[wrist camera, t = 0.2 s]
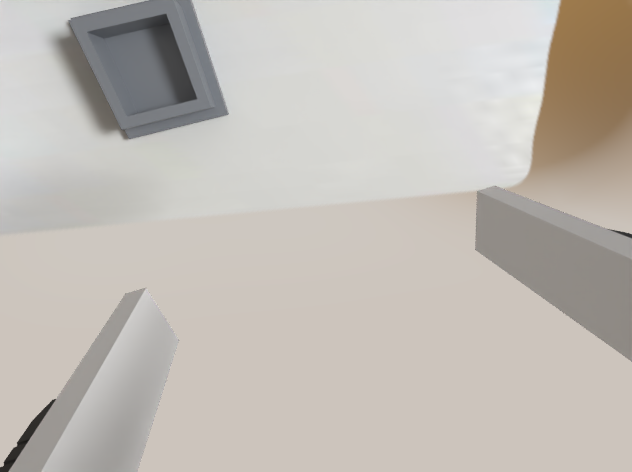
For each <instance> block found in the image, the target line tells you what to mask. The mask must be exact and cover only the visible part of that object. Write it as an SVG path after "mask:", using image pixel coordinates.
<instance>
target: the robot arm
mask: <svg viewBox="0 0 632 472" xmlns="http://www.w3.org/2000/svg"><path fill="white" fill-rule="evenodd" d="M475 246H476V247H475V250H476V251H478V252H479V253H481V254H482V255H483V256H485V257H486V258H488V259H489V260H491V261H492V262H493V263H495V264H496V265H498V266H499V267H500V268H502V269H503V270H504V271H506V272H507V273H509V274H510V275H512V276H513V277H514V278H516V279H517V280H518V281H520V282H521V283H523V284H524V285H525V286H527V287H528V288H530V289H531V290H532V291H534V292H535V293H537V294H538V295H539V296H541V297H542V298H544V299H545V300H546V301H548V302H549V303H551V304H552V305H553V306H555V307H556V308H558V309H559V310H560V311H562V312H563V313H565V314H566V315H567V316H569V317H570V318H572V319H573V320H574V321H576V322H577V323H579V324H580V325H582V326H583V327H584V328H586V329H587V330H588V331H590V332H591V333H593V334H594V335H595V336H597V337H598V338H600V339H601V340H603V341H604V342H605V343H607V344H608V345H609V346H611V347H612V348H614V349H615V350H616V351H618V352H619V353H621V354H622V355H623V356H625V357H626V358H628V359H629V360H631V361H632V234H629V233H625V232H620V231H615V230H610V229H606V228H603V227H600V226H598V225H595V224H593V223H590V222H587V221H585V220H582V219H580V218H577V217H575V216H572V215H569V214H567V213H564V212H561V211H559V210H556V209H554V208H551V207H549V206H546V205H544V204H541V203H538V202H536V201H533V200H531V199H528V198H525V197H523V196H520V195H518V194H515V193H513V192H510V191H507V190H505V189H502V188H500V187H497V186H493V187H489V188H486V189H482V190H479V191H477V213H476V245H475ZM178 341H179V339H178V337H177V336H176V335H175V333H174V331H173V329H172V328H171V327H170V325H169V323H168V322H167V320H166V318H165V317H164V315H163V314H162V312H161V310H160V309H159V307H158V306H157V304H156V303H155V301H154V299H153V298H152V296H151V295H150V293H149V291H148V290H147V288H144V289H140V290H137V291H133V292H130V293H127V294H125V296H124V297H123V298H122V300H121V301H120V303H119V305H118V306H117V308H116V309H115V311H114V312H113V314H112V315H111V317H110V318H109V320H108V321H107V323H106V324H105V326H104V327H103V329H102V330H101V332H100V333H99V335H98V336H97V338H96V339H95V341H94V342H93V344H92V345H91V347H90V349H89V350H88V352H87V353H86V355H85V356H84V358H83V359H82V361H81V362H80V364H79V365H78V367H77V368H76V370H75V371H74V373H73V374H72V376H71V377H70V379H69V380H68V382H67V384H66V385H65V387H64V388H63V390H62V391H61V393H60V394H59V396H58V397H57V399H54V400H52V401H51V402H50V403H49V404H48V405H47V406H46V407H45V408H44V409H43V410H42V411H41V412H40V413H39V414H38V415H37V417H36V418H35V419H34V420H33V421H32V422H31V423H30V425H29V426H28V428H27V429H26V431H25V432H24V434H23V435H22V436H21V438H20V439H19V441H18V442H17V447H15V448H13V450H12V451H11V452H10V454H9V455H8V457H7V458H6V460H5V461H4V466H3V467H0V472H137V471H138V468H139V465H140V462H141V458H142V455H143V452H144V449H145V446H146V442H147V439H148V436H149V433H150V430H151V427H152V424H153V421H154V417H155V414H156V411H157V407H158V405H159V402H160V398H161V395H162V392H163V389H164V386H165V383H166V379H167V376H168V373H169V370H170V366H171V364H172V360H173V357H174V354H175V351H176V348H177V344H178Z"/></svg>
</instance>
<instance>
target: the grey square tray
mask: <svg viewBox="0 0 632 472" xmlns="http://www.w3.org/2000/svg"><path fill="white" fill-rule="evenodd" d="M69 23H70V25H71V27H72V30H73V32H74V34H75V36H76V38H77V40H78V42H79V44H80V46H81V48H82V50H83V52H84V54H85V56H86V58H87V60H88V62H89V64H90V66H91V68H92V70H93V72H94V74H95V76H96V79H97V81H98V83H99V85H100V87H101V89H102V91H103V93H104V95H105V97H106V99H107V101H108V103H109V105H110V107H111V109H112V111H113V113H114V115H115V117H116V119H117V121H118V123H119V126H120V128H121V130H123V129H124V130H125V132H126V134H127V136H128V138H129V139H132V138H136V137H140V136H144V135H148V134H152V133H156V132H160V131H164V130H168V129H172V128H176V127H180V126H184V125H188V124H192V123H196V122H200V121H204V120H208V119H212V118H216V117H220V116H224V115H228V114H229V113H228V110H227V107H226V104H225V101H224V98H223V95H222V92H221V89H220V86H219V83H218V79H217V76H216V73H215V70H214V67H213V64H212V61H211V58H210V55H209V52H208V49H207V46H206V43H205V40H204V37H203V34H202V31H201V28H200V25H199V22H198V19H197V16H196V12H195V9H194V6H193V3H192V0H149V1H145V2H140V3H136V4H131V5H127V6H123V7H118V8H114V9H109V10H105V11H101V12H96V13H92V14H87V15H83V16H79V17H74V18H71V20H69Z"/></svg>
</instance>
